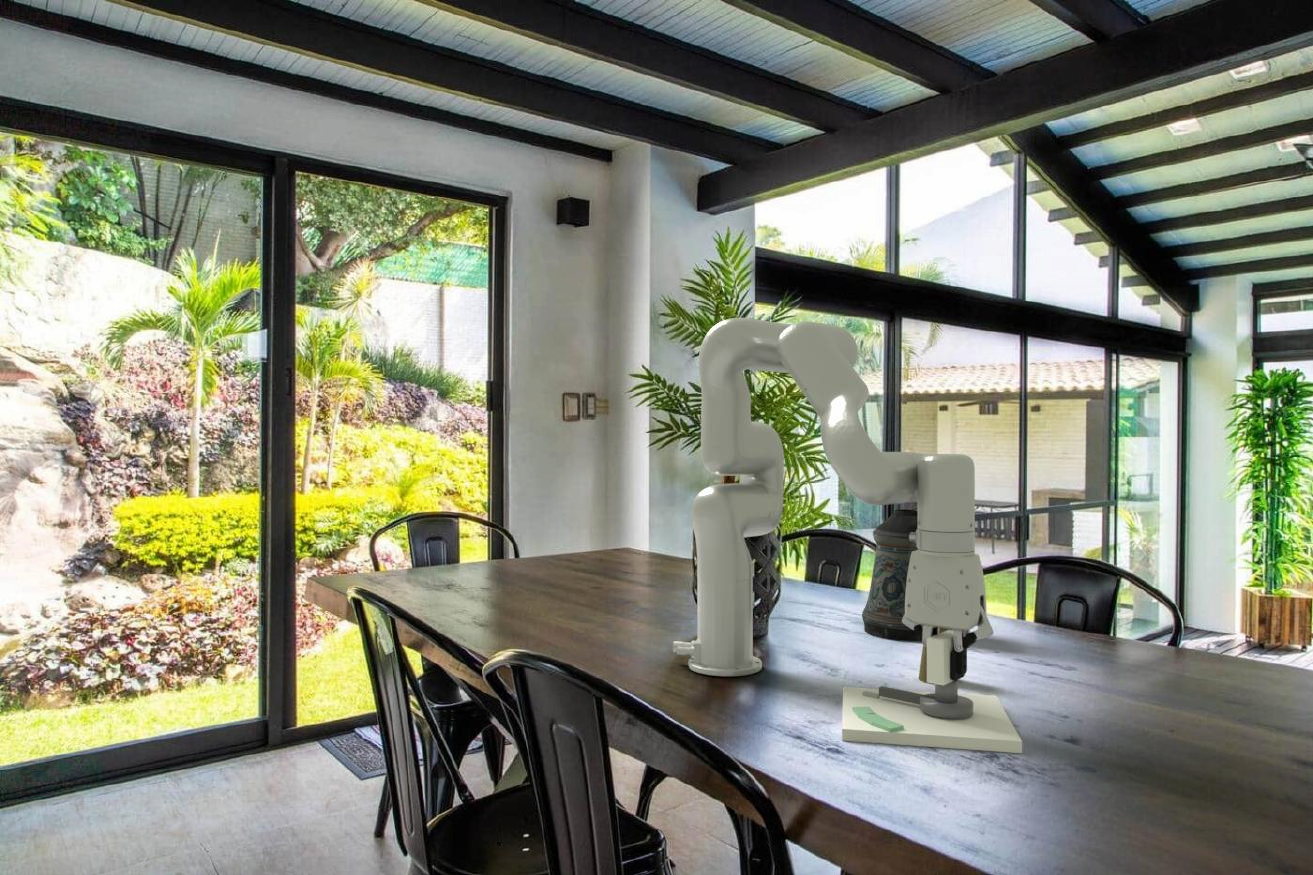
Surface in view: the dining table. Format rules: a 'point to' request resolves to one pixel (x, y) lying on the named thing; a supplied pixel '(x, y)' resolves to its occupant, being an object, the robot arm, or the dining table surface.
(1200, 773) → the dining table surface
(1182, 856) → the dining table surface
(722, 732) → the dining table surface
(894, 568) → the beer stein
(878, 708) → the dial board
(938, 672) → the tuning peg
